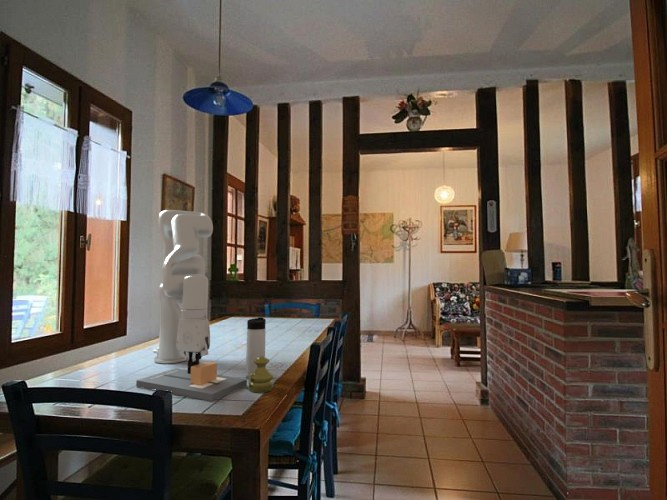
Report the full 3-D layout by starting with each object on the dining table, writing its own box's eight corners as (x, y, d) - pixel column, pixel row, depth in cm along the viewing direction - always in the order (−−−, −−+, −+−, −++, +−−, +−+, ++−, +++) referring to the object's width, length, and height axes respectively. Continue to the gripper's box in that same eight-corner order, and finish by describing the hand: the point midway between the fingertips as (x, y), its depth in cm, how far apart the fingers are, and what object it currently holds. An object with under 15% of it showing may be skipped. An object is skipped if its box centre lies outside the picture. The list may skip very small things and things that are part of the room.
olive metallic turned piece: (259, 384, 125) (260, 353, 125) (277, 388, 121) (278, 355, 122) (243, 390, 119) (244, 357, 119) (262, 394, 115) (262, 360, 115)
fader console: (136, 386, 121) (136, 379, 121) (176, 373, 136) (176, 367, 136) (211, 401, 109) (212, 393, 109) (246, 385, 123) (246, 378, 123)
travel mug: (268, 375, 135) (269, 317, 136) (258, 380, 129) (260, 320, 129) (252, 373, 137) (253, 316, 138) (242, 378, 131) (243, 319, 132)
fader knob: (190, 383, 118) (190, 366, 118) (206, 377, 124) (207, 361, 125) (200, 384, 116) (201, 368, 117) (216, 378, 123) (216, 362, 123)
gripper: (168, 314, 123) (166, 373, 122) (204, 317, 116) (203, 379, 116) (185, 311, 129) (184, 367, 129) (221, 314, 123) (220, 373, 122)
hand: (193, 372), depth 122 cm, fingers closed
